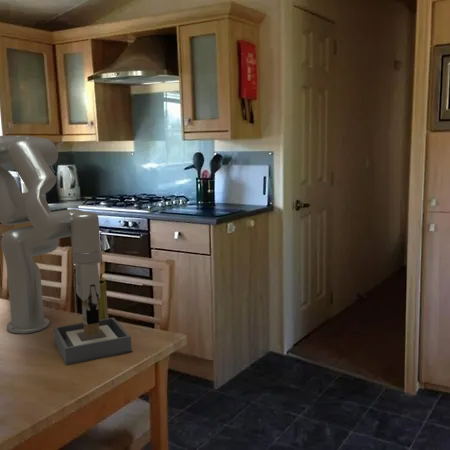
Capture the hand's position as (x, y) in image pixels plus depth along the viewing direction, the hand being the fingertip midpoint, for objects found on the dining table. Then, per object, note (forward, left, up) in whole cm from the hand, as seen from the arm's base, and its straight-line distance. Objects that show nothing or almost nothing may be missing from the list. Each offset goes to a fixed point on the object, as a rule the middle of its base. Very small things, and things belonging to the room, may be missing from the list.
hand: (90, 320), depth 152 cm
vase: (-16, +6, -8) cm, 19 cm away
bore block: (0, 0, -8) cm, 8 cm away
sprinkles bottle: (0, 0, -4) cm, 4 cm away
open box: (0, 0, -8) cm, 8 cm away
